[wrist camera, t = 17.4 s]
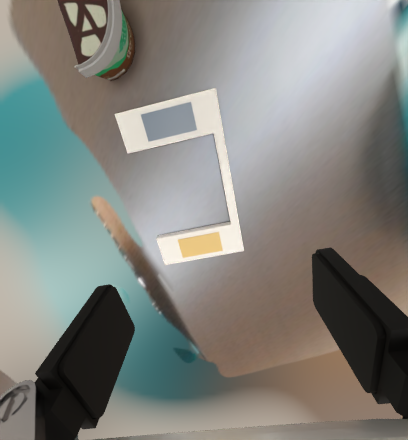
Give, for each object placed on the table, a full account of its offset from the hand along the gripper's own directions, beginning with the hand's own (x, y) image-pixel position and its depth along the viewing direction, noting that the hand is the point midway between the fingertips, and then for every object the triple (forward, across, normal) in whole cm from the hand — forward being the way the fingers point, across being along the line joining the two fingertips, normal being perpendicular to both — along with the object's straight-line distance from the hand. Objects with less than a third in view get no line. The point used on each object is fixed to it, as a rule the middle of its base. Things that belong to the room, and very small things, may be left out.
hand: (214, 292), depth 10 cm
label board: (+29, +5, +2) cm, 30 cm away
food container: (+30, +9, -21) cm, 38 cm away
